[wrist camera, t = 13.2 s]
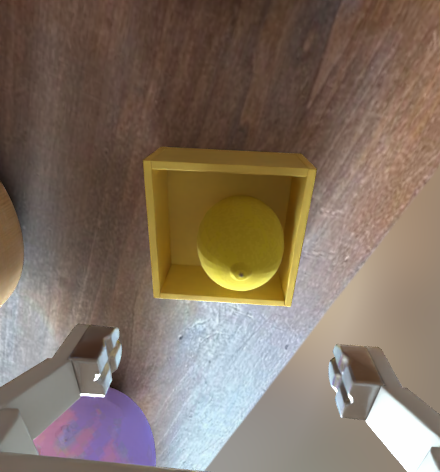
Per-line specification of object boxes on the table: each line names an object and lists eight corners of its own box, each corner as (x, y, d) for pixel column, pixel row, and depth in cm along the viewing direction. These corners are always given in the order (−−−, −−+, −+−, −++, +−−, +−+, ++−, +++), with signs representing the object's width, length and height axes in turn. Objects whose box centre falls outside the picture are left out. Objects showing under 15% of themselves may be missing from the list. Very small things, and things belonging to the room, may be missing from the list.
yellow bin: (301, 153, 20) (317, 168, 16) (282, 272, 25) (290, 306, 21) (160, 146, 21) (142, 159, 17) (166, 265, 25) (153, 298, 21)
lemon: (286, 232, 23) (309, 297, 16) (222, 257, 24) (216, 328, 17) (259, 168, 21) (271, 209, 13) (190, 199, 22) (168, 252, 15)
